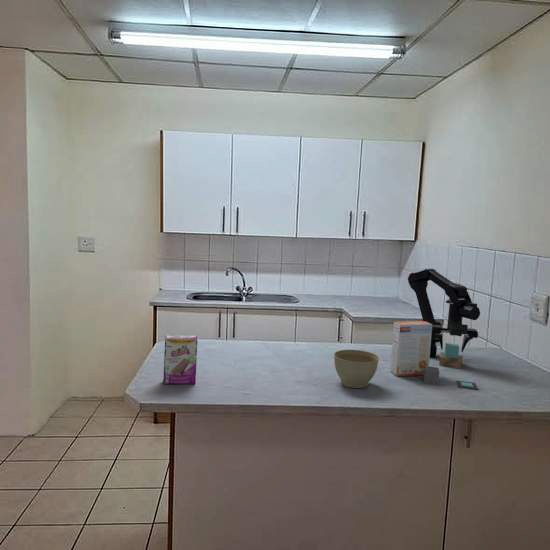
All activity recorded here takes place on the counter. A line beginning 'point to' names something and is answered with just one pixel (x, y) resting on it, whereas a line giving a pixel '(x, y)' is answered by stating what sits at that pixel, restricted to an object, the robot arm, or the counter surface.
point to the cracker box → (410, 348)
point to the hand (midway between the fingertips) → (451, 350)
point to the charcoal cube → (431, 375)
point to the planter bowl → (355, 367)
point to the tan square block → (450, 361)
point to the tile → (466, 385)
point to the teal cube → (451, 350)
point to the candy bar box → (180, 359)
